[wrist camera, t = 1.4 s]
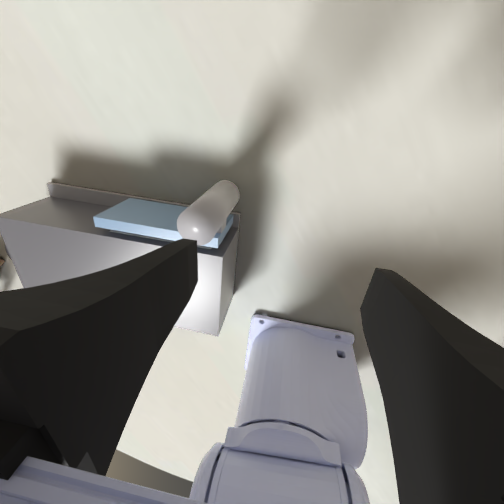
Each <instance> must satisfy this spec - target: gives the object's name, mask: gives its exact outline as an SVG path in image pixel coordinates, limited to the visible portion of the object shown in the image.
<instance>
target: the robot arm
mask: <svg viewBox="0 0 504 504" xmlns="http://www.w3.org/2000/svg"><path fill="white" fill-rule="evenodd" d="M197 282H198V255H197V240H190V239H184V238H183V239H180V240H177V241H174V242H172V243H170V244H167V245H165V246H163V247H160V248H158V249H156V250H154V251H151V252H149V253H147V254H144V255H142V256H139V257H137V258H134V259H132V260H129V261H127V262H124V263H122V264H119V265H116V266H113V267H110V268H107V269H104V270H101V271H98V272H94V273H91V274H87V275H84V276H80V277H76V278H71V279H67V280H63V281H59V282H55V283H50V284H45V285H40V286H34V287H29V288H23V289H17V290H11V291H4V292H0V504H370V502H369V498H368V494H367V491H366V488H365V485H364V483H363V481H362V479H361V478H360V476H359V475H358V474H357V472H356V471H355V469H357V468H359V467H360V465H361V464H362V462H363V459H364V456H365V452H366V447H367V437H368V423H367V411H366V405H365V399H364V395H363V390H362V386H361V381H360V377H359V372H358V368H357V363H356V359H355V354H354V350H353V343H354V340H355V338H354V335H353V334H352V333H349V332H344V331H339V330H334V329H329V328H323V327H318V326H313V325H308V324H303V323H298V322H293V321H288V320H283V319H278V318H273V317H268V316H263V315H258V314H255V315H253V316H252V319H251V325H250V332H249V339H248V346H247V353H246V360H245V367H244V368H245V370H246V375H245V380H244V384H243V389H242V394H241V399H240V404H239V408H238V413H237V418H236V423H235V427H229V428H228V431H227V435H226V439H225V443H216V444H214V445H213V446H212V448H211V449H210V450H209V451H208V452H207V453H206V454H205V456H204V457H203V459H202V461H201V463H200V465H199V468H198V470H197V473H196V476H195V479H194V482H193V486H192V489H191V493H190V497H189V498H186V497H182V496H178V495H174V494H170V493H166V492H163V491H159V490H155V489H151V488H148V487H143V486H140V485H136V484H132V483H128V482H124V481H120V480H117V479H113V478H109V477H106V476H105V475H106V473H107V470H108V468H109V465H110V462H111V460H112V457H113V455H114V452H115V450H116V447H117V445H118V442H119V440H120V437H121V435H122V432H123V430H124V427H125V425H126V423H127V420H128V418H129V416H130V413H131V411H132V409H133V406H134V404H135V401H136V399H137V397H138V395H139V393H140V390H141V388H142V386H143V384H144V382H145V379H146V377H147V375H148V373H149V371H150V369H151V367H152V365H153V362H154V360H155V358H156V356H157V354H158V352H159V350H160V349H161V347H162V345H163V343H164V341H165V340H166V338H167V337H168V335H169V333H170V332H171V330H172V328H173V327H174V325H175V324H176V322H177V320H178V319H179V317H180V316H181V314H182V312H183V311H184V309H185V307H186V306H187V304H188V302H189V301H190V299H191V296H192V294H193V292H194V290H195V287H196V285H197ZM360 309H361V317H362V324H363V331H364V334H365V338H366V341H367V345H368V348H369V352H370V355H371V358H372V362H373V365H374V368H375V372H376V375H377V378H378V381H379V385H380V389H381V393H382V396H383V401H384V406H385V412H386V417H387V422H388V428H389V434H390V440H391V446H392V452H393V458H394V465H395V473H396V480H397V487H398V495H399V502H400V504H504V348H503V347H501V346H500V345H498V344H496V343H495V342H493V341H492V340H490V339H488V338H487V337H485V336H483V335H482V334H480V333H479V332H477V331H476V330H474V329H472V328H471V327H469V326H468V325H467V324H465V323H464V322H462V321H461V320H459V319H458V318H456V317H455V316H454V315H452V314H451V313H449V312H448V311H447V310H445V309H444V308H442V307H441V306H440V305H438V304H437V303H436V302H434V301H433V300H432V299H430V298H429V297H428V296H426V295H425V294H424V293H423V292H421V291H420V290H419V289H417V288H416V287H415V286H414V285H412V284H411V283H410V282H408V281H407V280H406V279H404V278H403V277H402V276H400V275H399V274H397V273H396V272H394V271H392V270H386V269H379V268H376V269H375V271H374V274H373V277H372V279H371V282H370V284H369V287H368V290H367V292H366V295H365V297H364V300H363V303H362V305H361V308H360ZM261 320H263V321H261ZM336 335H339V336H336Z"/></svg>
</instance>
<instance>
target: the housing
mask: <svg viewBox="0 0 504 504" xmlns="http://www.w3.org/2000/svg"><path fill="white" fill-rule="evenodd" d="M47 186H48V189H49V192H50V196H51V197H48V198H45V199H42V200H39V201H36V202H33V203H30V204H27V205H24V206H21V207H19V208H16V209H13V210H10V211H7V212H4V213H1V214H0V233H1V235H2V238H3V240H4V242H5V248H6V252H7V254H8V256H9V257H10V258H11V259H12V261H13V264H14V266H15V269H16V271H17V273H18V276H19V278H20V280H21V283H22V285H23V287H24V288H29V287H34V286H40V285H45V284H50V283H55V282H59V281H63V280H67V279H71V278H76V277H80V276H84V275H87V274H91V273H94V272H98V271H101V270H104V269H107V268H110V267H113V266H116V265H119V264H122V263H124V262H127V261H129V260H132V259H134V258H137V257H139V256H142V255H144V254H147V253H149V252H151V251H154V250H156V249H158V248H160V247H163V246H165V245H167V244H170V243H172V242H174V241H173V240H167V239H162V238H156V237H150V236H145V235H139V234H133V233H128V232H122V231H116V230H111V229H105V228H99V227H95V223H94V219H93V216H95V215H97V214H99V213H101V212H103V211H105V210H107V209H109V208H111V207H113V206H115V205H117V204H119V203H121V202H123V201H125V200H127V199H129V198H134V199H140V200H147V201H153V202H159V203H165V204H171V205H177V206H183V207H189V206H190V205H189V204H182V203H176V202H170V201H164V200H158V199H152V198H145V197H139V196H133V195H127V194H121V193H115V192H108V191H102V190H96V189H90V188H84V187H78V186H72V185H65V184H59V183H53V182H50V183H47ZM230 214H232V215H233V224H232V226H231V227H230V229H229V231H228V232H227V234H226V236H225V237H224V239H223V241H222V242H221V244H220V245H219V247H218V248H213V247H207V246H201V245H197V255H198V282H197V285H196V287H195V290H194V292H193V294H192V296H191V299H190V301H189V302H188V304H187V306H186V307H185V309H184V311H183V312H182V314H181V316H180V317H179V319H178V320H177V322H176V324H175V325H174V327H176V328H180V329H185V330H190V331H195V332H200V333H204V334H209V335H214V336H219V333H220V330H221V327H222V325H223V322H224V319H225V317H226V314H227V311H228V308H229V306H230V303H231V300H232V297H233V293H234V282H235V270H236V259H237V248H238V237H239V226H240V214H241V213H238V212H232V211H231V213H230Z"/></svg>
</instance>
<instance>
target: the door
mask: <svg viewBox="0 0 504 504" xmlns="http://www.w3.org/2000/svg"><path fill="white" fill-rule="evenodd" d="M239 197H240V193H239V190H238V188H237V186H236V185H235V184H234V183H233V182H231V181H228V180H221V181H219V182H217V183H216V184H215V185H213V186H212V187H211V188H210V189H209V190H208V191H206V192H205V193H204V194H203V195H202V196H200V197H199V198H198V199H197V200H196V201H195V202H193V203H192V204H191V205H190V206H189V207H183V206H177V205H171V204H165V203H159V202H153V201H147V200H140V199H134V198H129V199H127V200H125V201H123V202H121V203H119V204H117V205H115V206H113V207H111V208H109V209H107V210H105V211H103V212H101V213H99V214H97V215H95V216H93V219H94V223H95V227H99V228H105V229H111V230H116V231H122V232H128V233H133V234H139V235H145V236H150V237H156V238H162V239H167V240H173V241H177V240H180V239H183V238H184V239H190V240H197V245H201V246H207V247H213V248H218V247H219V245H220V244H221V242H222V241H223V239H224V237H225V236H226V234H227V232H228V231H229V229H230V227H231V226H232V224H233V215H232V214H230V213H231V211H232V210H233V208H234V207H235V205H236V204H237V203H238V201H239Z"/></svg>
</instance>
